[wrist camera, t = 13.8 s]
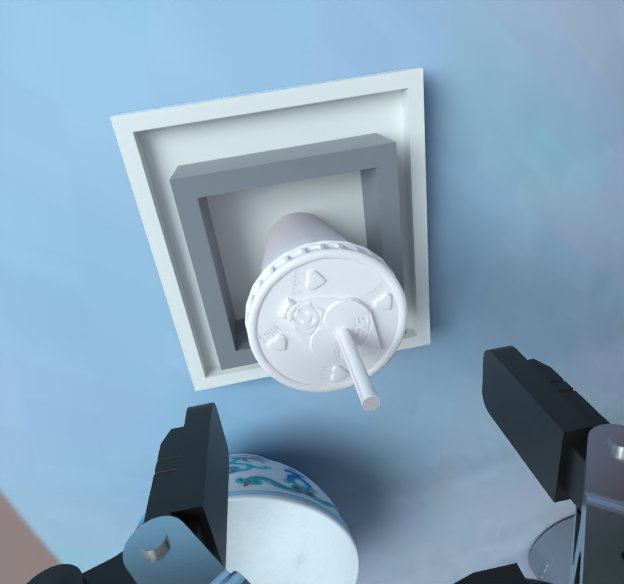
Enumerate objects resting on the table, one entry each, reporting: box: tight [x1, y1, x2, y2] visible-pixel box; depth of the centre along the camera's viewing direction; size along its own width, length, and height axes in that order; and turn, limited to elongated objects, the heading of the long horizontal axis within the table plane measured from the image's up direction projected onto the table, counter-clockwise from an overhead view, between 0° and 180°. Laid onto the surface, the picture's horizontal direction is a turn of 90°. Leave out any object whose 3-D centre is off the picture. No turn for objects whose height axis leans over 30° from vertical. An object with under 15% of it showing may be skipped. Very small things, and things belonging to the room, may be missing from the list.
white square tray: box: [110, 68, 430, 391], centre depth 25 cm, size 15×16×5 cm
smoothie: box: [245, 212, 408, 411], centre depth 20 cm, size 6×6×14 cm
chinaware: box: [123, 453, 359, 584], centre depth 32 cm, size 15×15×8 cm
